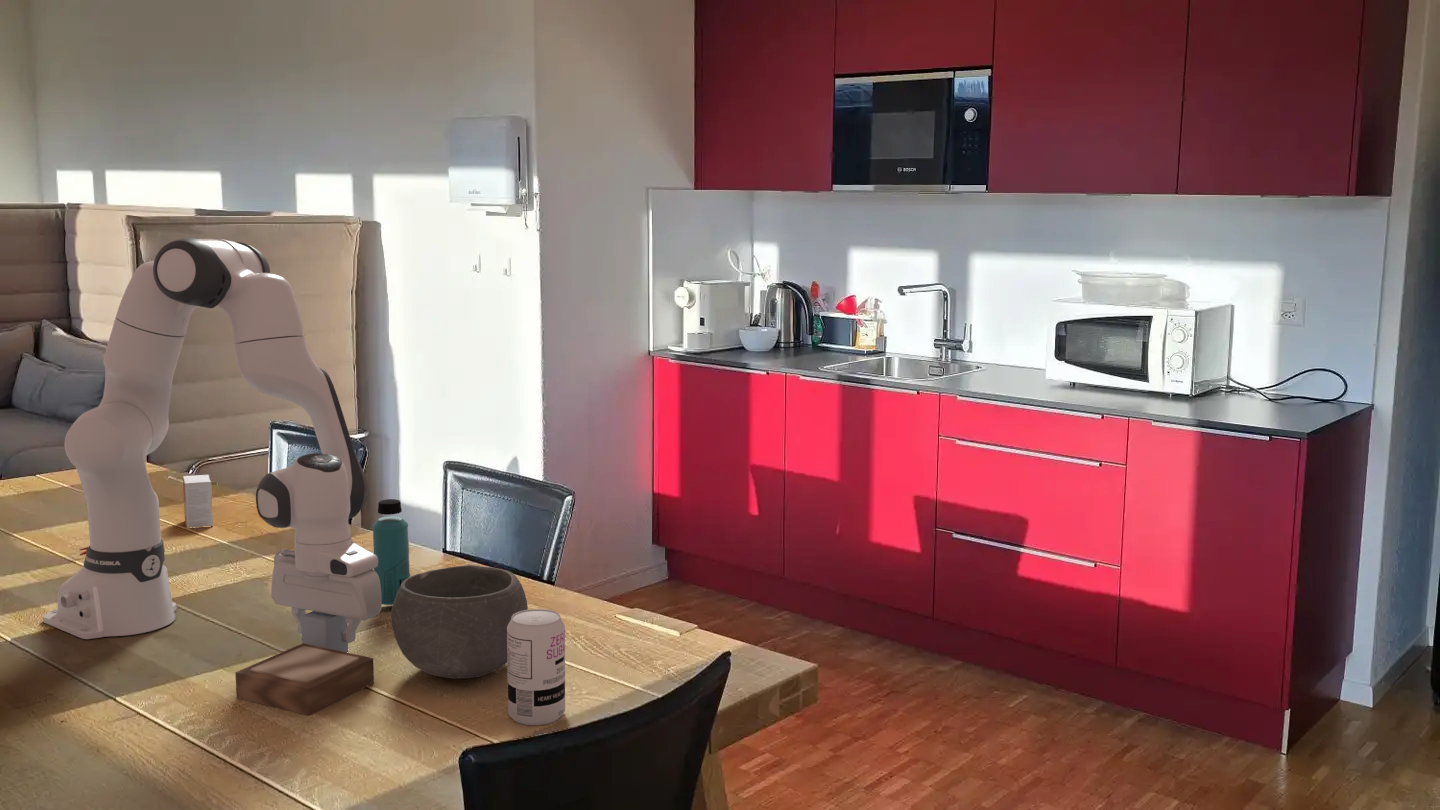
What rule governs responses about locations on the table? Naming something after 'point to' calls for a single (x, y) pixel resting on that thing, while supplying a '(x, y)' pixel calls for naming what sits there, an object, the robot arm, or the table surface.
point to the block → (324, 630)
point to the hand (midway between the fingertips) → (326, 637)
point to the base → (304, 678)
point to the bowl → (457, 619)
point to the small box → (197, 501)
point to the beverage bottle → (391, 549)
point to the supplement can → (536, 667)
